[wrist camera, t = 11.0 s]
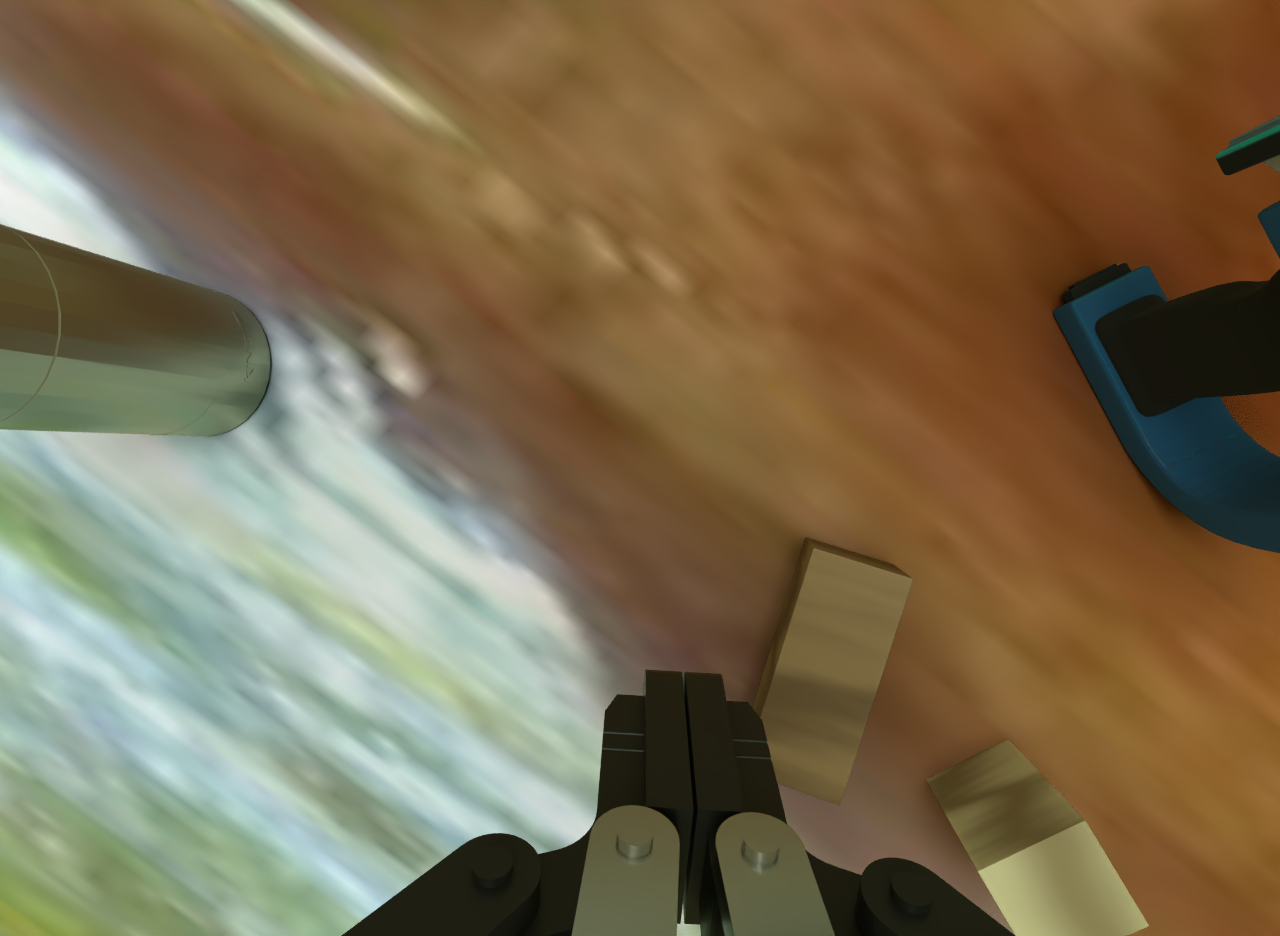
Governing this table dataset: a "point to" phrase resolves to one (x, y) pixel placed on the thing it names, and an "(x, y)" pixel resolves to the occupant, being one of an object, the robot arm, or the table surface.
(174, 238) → the table surface
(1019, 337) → the table surface
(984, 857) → the beech block
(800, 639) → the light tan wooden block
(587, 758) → the table surface
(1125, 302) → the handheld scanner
